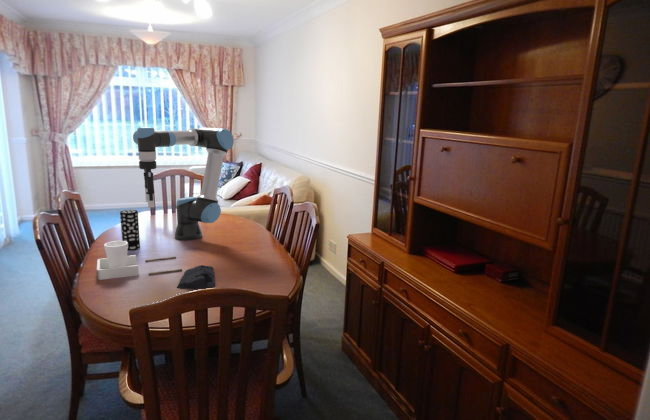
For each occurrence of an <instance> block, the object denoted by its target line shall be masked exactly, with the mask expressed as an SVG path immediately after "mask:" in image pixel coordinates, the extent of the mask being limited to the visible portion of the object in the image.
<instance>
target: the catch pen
mask: <svg viewBox="0 0 650 420" xmlns="http://www.w3.org/2000/svg"><path fill="white" fill-rule="evenodd" d="M96 263H97V264H96V274H97V281H101V280H110V279H117V278H127V277H133V276H139V275H140V273H139V264H138V263H137V255H136V254H133V255H127V266H124V267H115V268H109V264H108V260H107V257H105V258H104V257H103V258H97V261H96Z"/></svg>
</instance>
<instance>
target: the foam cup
mask: <svg viewBox="0 0 650 420" xmlns="http://www.w3.org/2000/svg"><path fill="white" fill-rule="evenodd" d="M103 245H104V252H105V255H106V258H107V260H108V264H109V268H115V267H124V266H128V265H127V256H128V252H129V251H128V242H126V241H122V240H112V241H108V242H105V243H104V244H103Z"/></svg>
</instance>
